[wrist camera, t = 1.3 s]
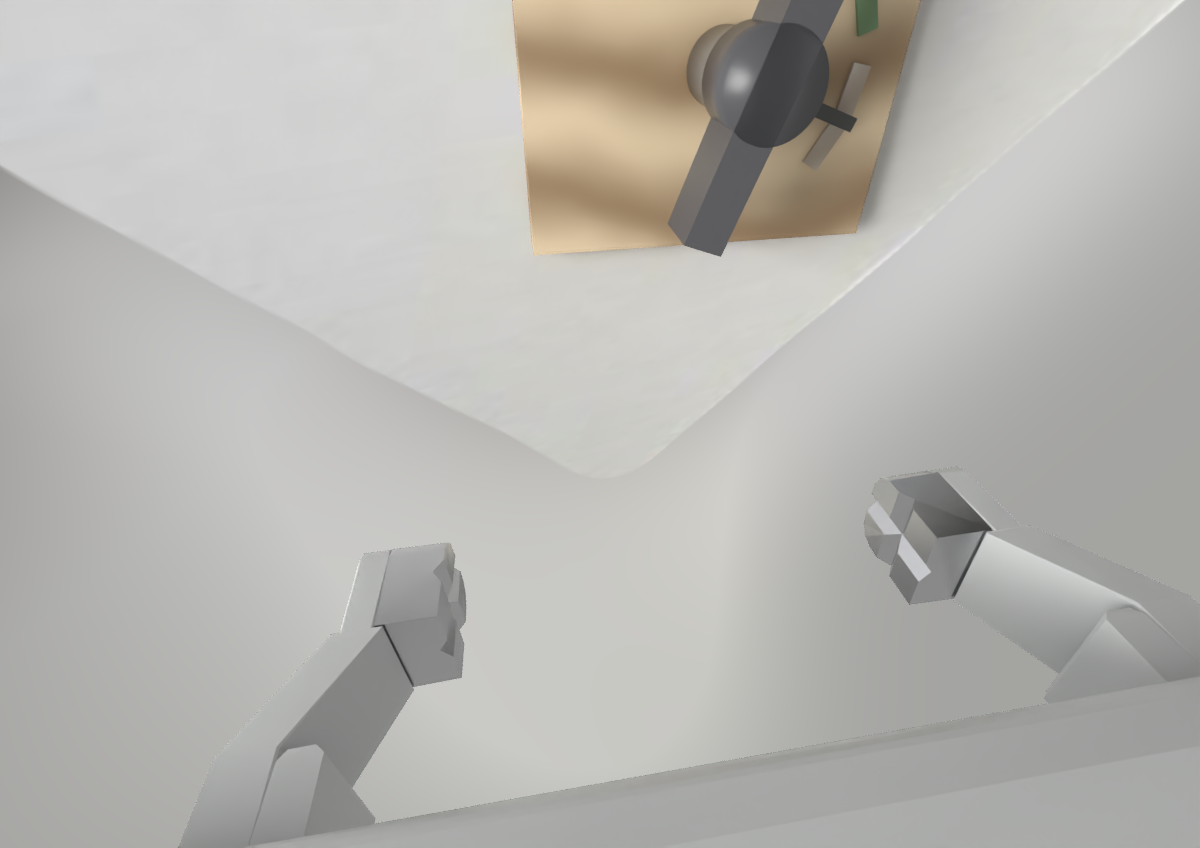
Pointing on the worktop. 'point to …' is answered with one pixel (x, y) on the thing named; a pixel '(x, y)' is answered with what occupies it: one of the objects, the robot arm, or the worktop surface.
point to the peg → (751, 109)
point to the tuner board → (684, 121)
